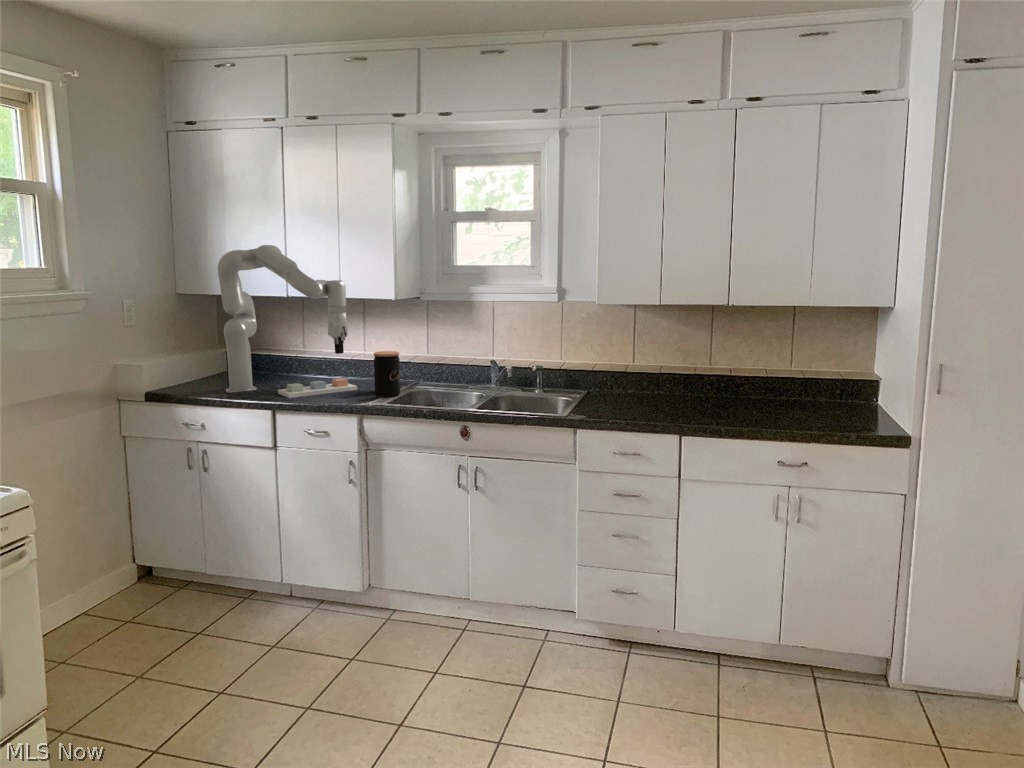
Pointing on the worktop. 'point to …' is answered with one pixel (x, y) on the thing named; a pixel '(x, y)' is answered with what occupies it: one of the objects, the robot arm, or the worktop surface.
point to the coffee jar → (387, 373)
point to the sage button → (294, 387)
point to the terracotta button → (339, 382)
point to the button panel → (309, 391)
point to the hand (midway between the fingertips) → (339, 353)
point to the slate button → (317, 385)
